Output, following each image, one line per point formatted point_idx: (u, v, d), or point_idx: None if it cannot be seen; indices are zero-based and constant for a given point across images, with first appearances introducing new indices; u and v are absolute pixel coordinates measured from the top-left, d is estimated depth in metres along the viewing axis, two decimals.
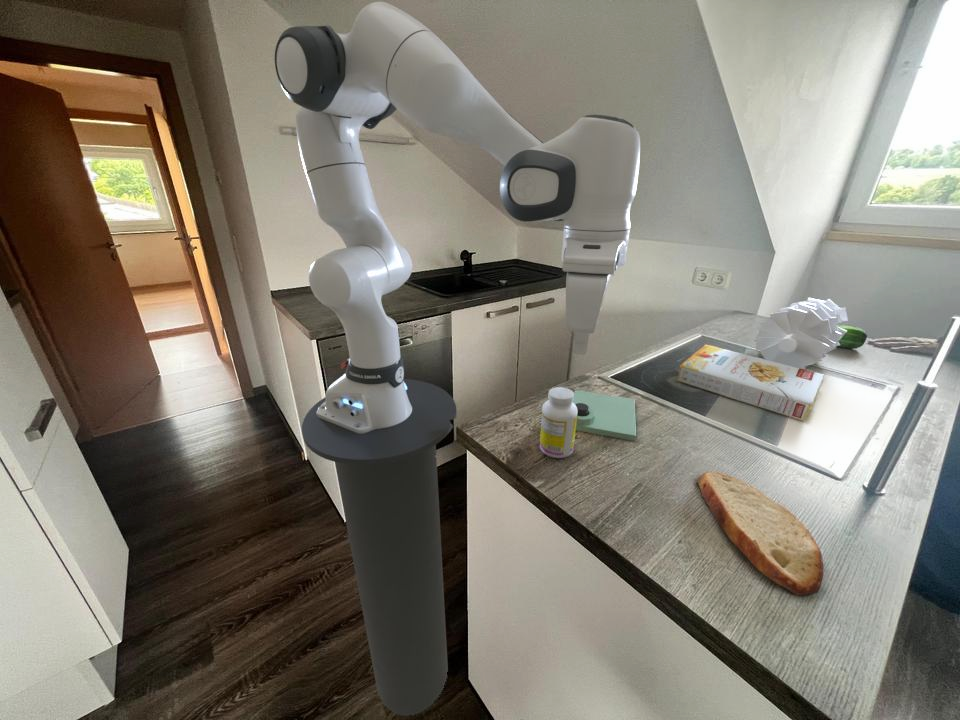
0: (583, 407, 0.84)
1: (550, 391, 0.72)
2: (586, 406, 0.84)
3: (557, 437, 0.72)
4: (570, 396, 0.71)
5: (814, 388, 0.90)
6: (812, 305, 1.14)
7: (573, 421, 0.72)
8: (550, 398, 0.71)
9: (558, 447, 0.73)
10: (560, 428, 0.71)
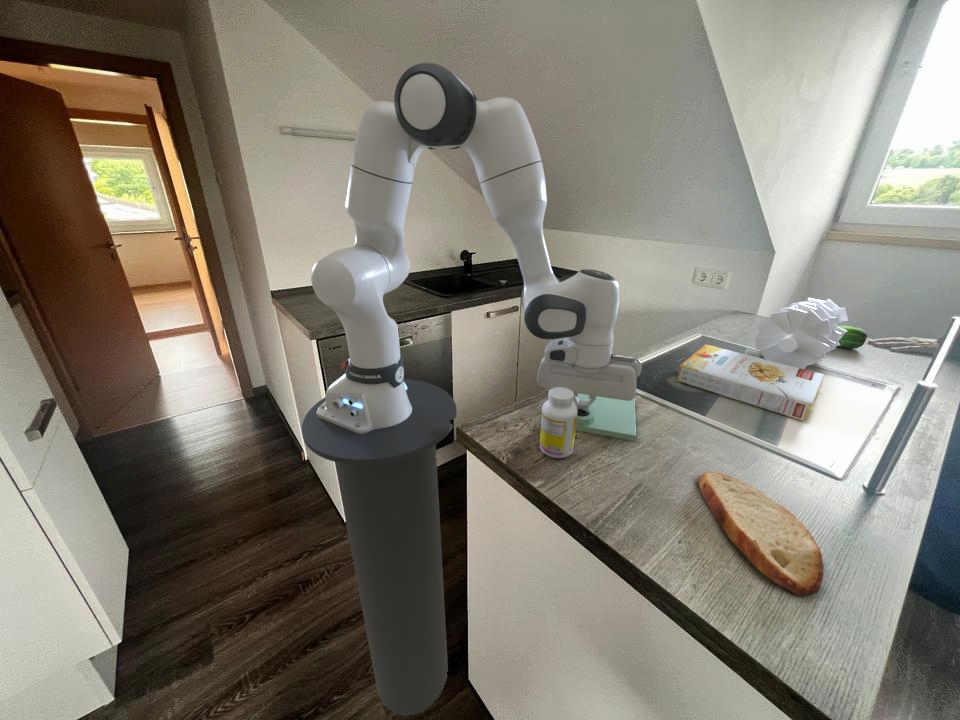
0: None
1: (550, 391, 0.73)
2: None
3: (557, 437, 0.72)
4: (570, 396, 0.71)
5: (814, 388, 0.90)
6: (812, 305, 1.14)
7: (573, 421, 0.72)
8: (550, 398, 0.71)
9: (558, 447, 0.73)
10: (560, 428, 0.71)
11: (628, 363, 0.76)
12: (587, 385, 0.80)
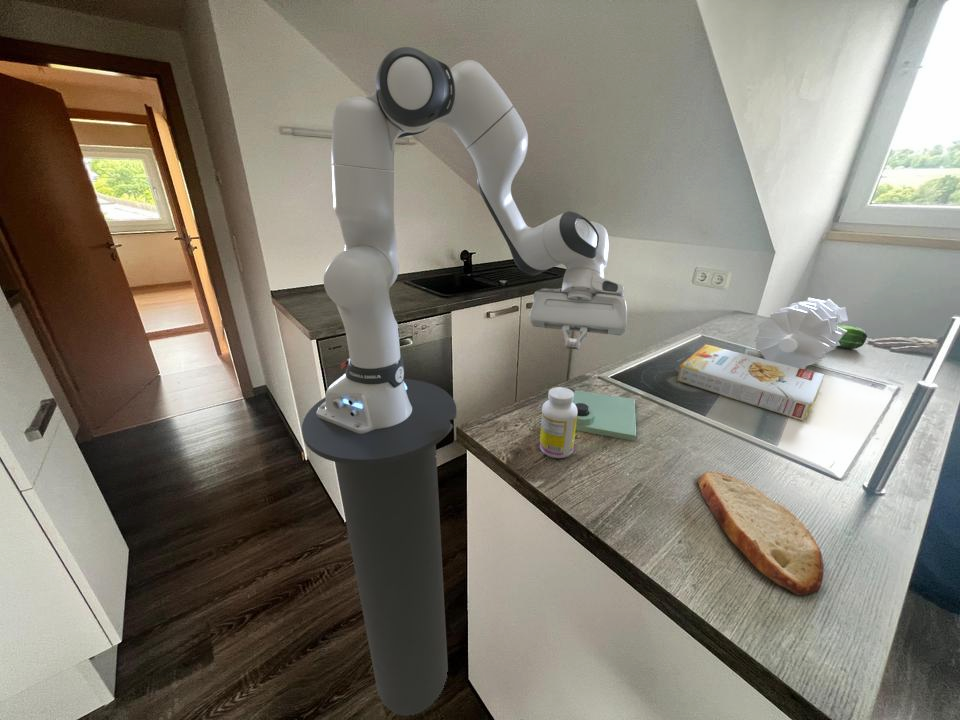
0: (583, 407, 0.84)
1: (550, 391, 0.73)
2: (586, 406, 0.84)
3: (557, 437, 0.72)
4: (570, 396, 0.71)
5: (814, 388, 0.90)
6: (812, 305, 1.14)
7: (573, 421, 0.72)
8: (550, 398, 0.71)
9: (558, 447, 0.73)
10: (560, 428, 0.71)
11: None
12: None
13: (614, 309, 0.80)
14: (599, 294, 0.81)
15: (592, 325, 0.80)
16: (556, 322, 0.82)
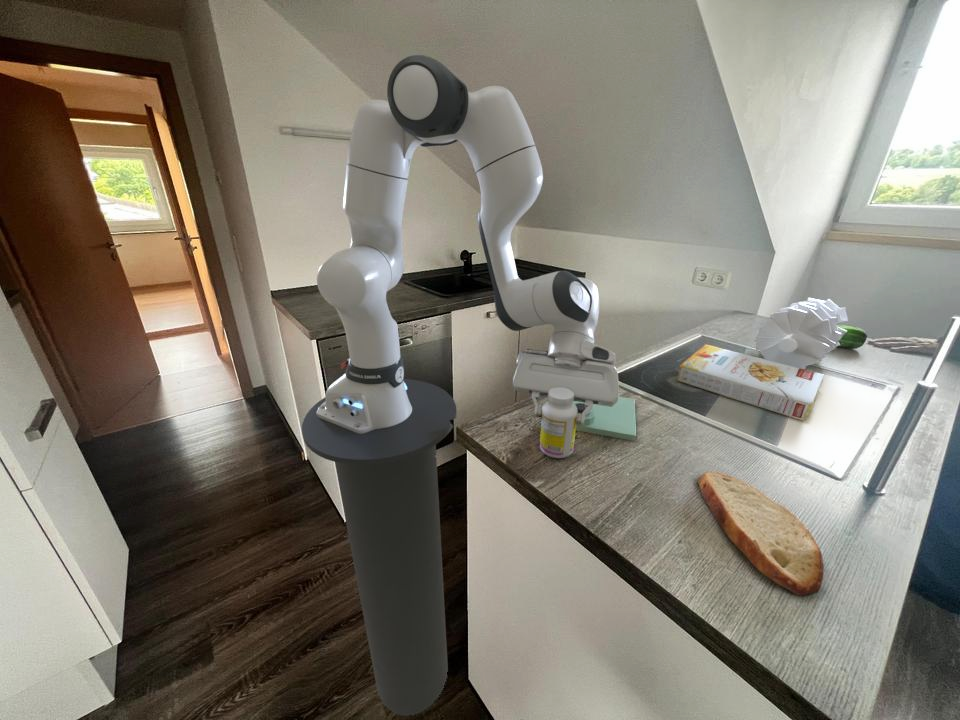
0: (583, 407, 0.84)
1: (550, 391, 0.72)
2: None
3: (557, 437, 0.72)
4: (570, 396, 0.71)
5: (814, 388, 0.90)
6: (812, 305, 1.14)
7: (573, 421, 0.72)
8: (550, 398, 0.71)
9: (558, 447, 0.73)
10: (560, 428, 0.71)
11: None
12: None
13: (605, 379, 0.73)
14: (589, 361, 0.74)
15: (581, 396, 0.73)
16: (542, 391, 0.75)
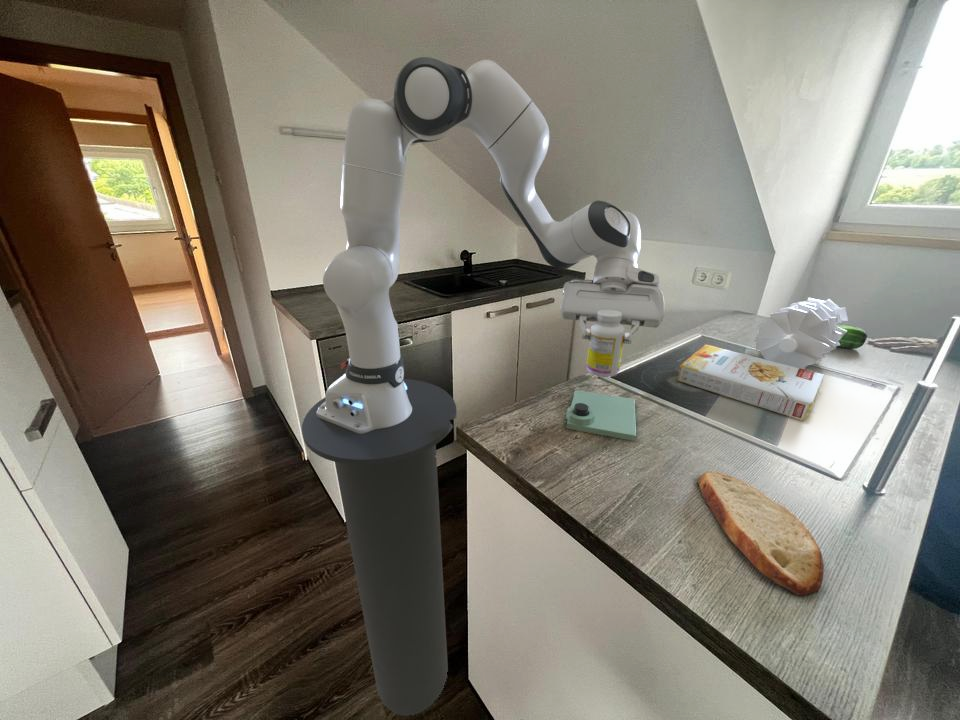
0: (583, 407, 0.84)
1: (599, 312, 0.77)
2: (586, 406, 0.84)
3: (605, 354, 0.76)
4: (619, 314, 0.75)
5: (814, 388, 0.90)
6: (812, 305, 1.14)
7: (621, 339, 0.76)
8: (600, 317, 0.76)
9: (606, 365, 0.77)
10: (609, 346, 0.75)
11: None
12: None
13: (650, 300, 0.77)
14: (634, 285, 0.78)
15: (628, 317, 0.77)
16: (589, 314, 0.79)
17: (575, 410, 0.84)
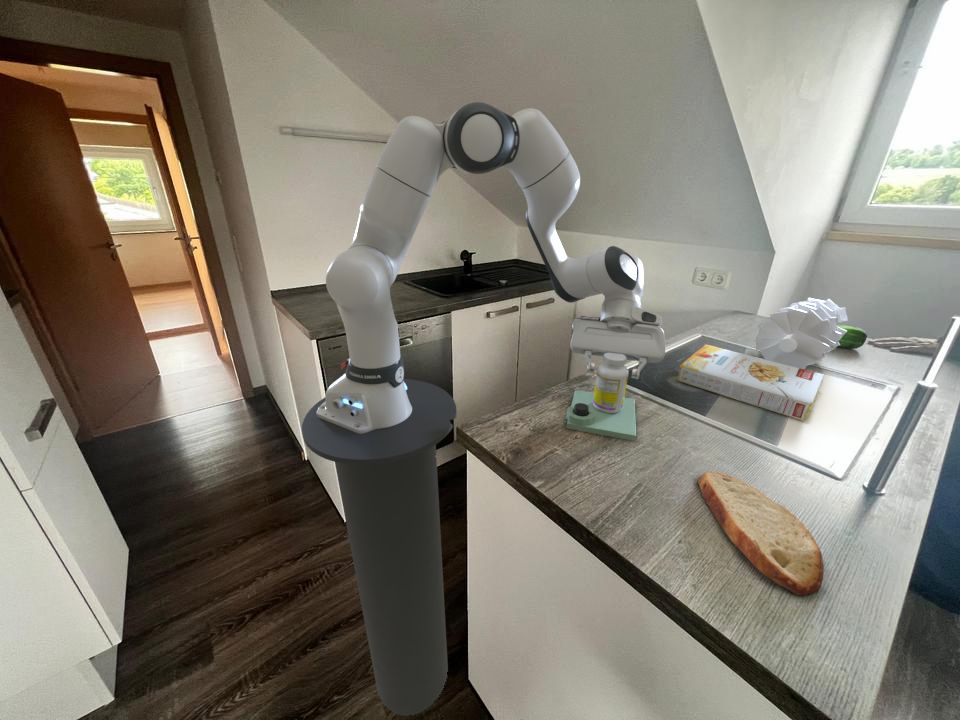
0: (583, 407, 0.84)
1: (605, 355, 0.85)
2: (586, 406, 0.84)
3: (611, 394, 0.85)
4: (624, 358, 0.83)
5: (814, 388, 0.90)
6: (812, 305, 1.14)
7: (625, 380, 0.84)
8: (606, 360, 0.84)
9: (611, 402, 0.85)
10: (614, 386, 0.84)
11: None
12: None
13: (653, 339, 0.85)
14: (638, 324, 0.86)
15: (632, 354, 0.85)
16: (597, 350, 0.87)
17: (575, 410, 0.84)
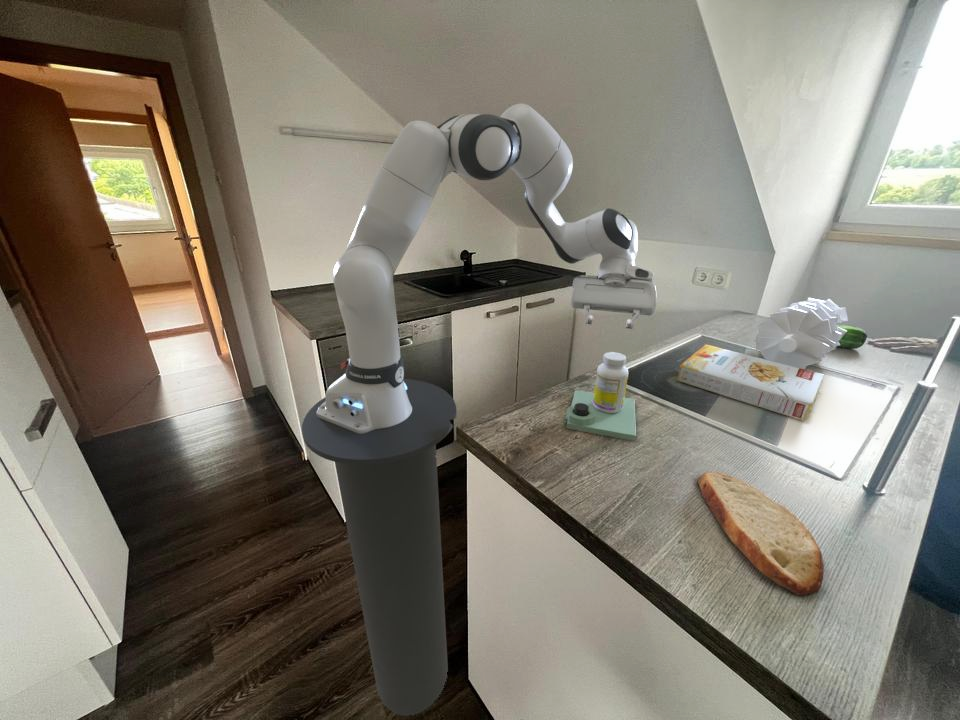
0: (583, 407, 0.84)
1: (605, 355, 0.85)
2: (586, 406, 0.84)
3: (611, 394, 0.85)
4: (623, 358, 0.83)
5: (814, 388, 0.90)
6: (812, 305, 1.14)
7: (625, 380, 0.84)
8: (606, 360, 0.84)
9: (611, 402, 0.85)
10: (614, 386, 0.84)
11: None
12: None
13: (645, 292, 0.94)
14: (632, 280, 0.94)
15: (627, 306, 0.94)
16: (595, 303, 0.96)
17: (575, 410, 0.84)
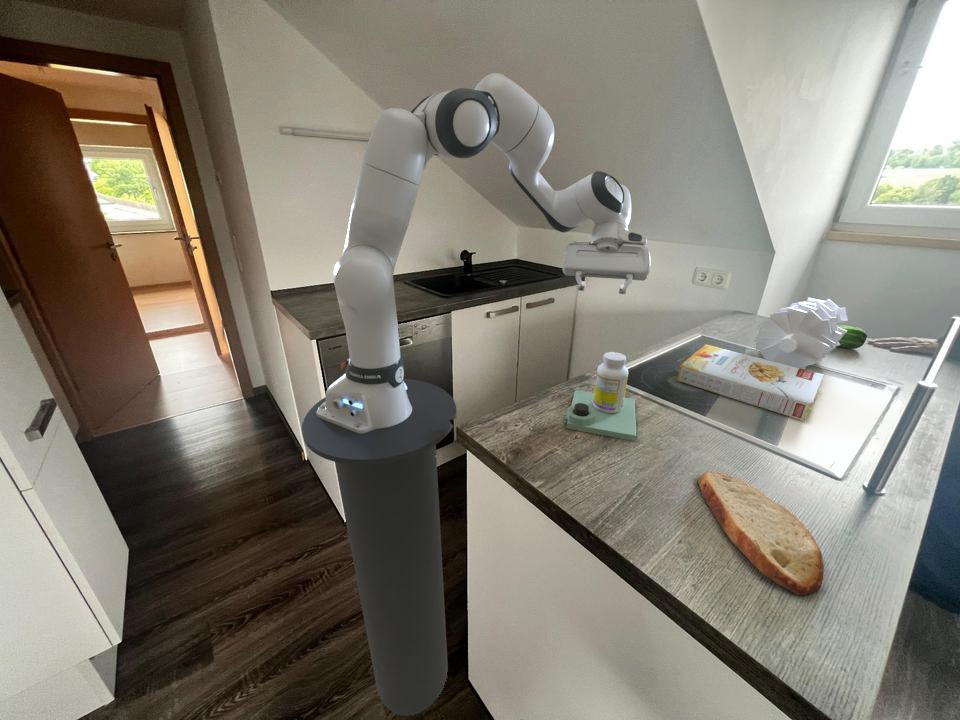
0: (583, 407, 0.84)
1: (605, 355, 0.85)
2: (586, 406, 0.84)
3: (611, 394, 0.85)
4: (623, 358, 0.83)
5: (814, 388, 0.90)
6: (812, 305, 1.14)
7: (625, 380, 0.84)
8: (606, 360, 0.84)
9: (611, 402, 0.85)
10: (614, 386, 0.84)
11: None
12: None
13: (639, 257, 0.91)
14: (625, 244, 0.92)
15: (620, 270, 0.91)
16: (587, 269, 0.93)
17: (575, 410, 0.84)
